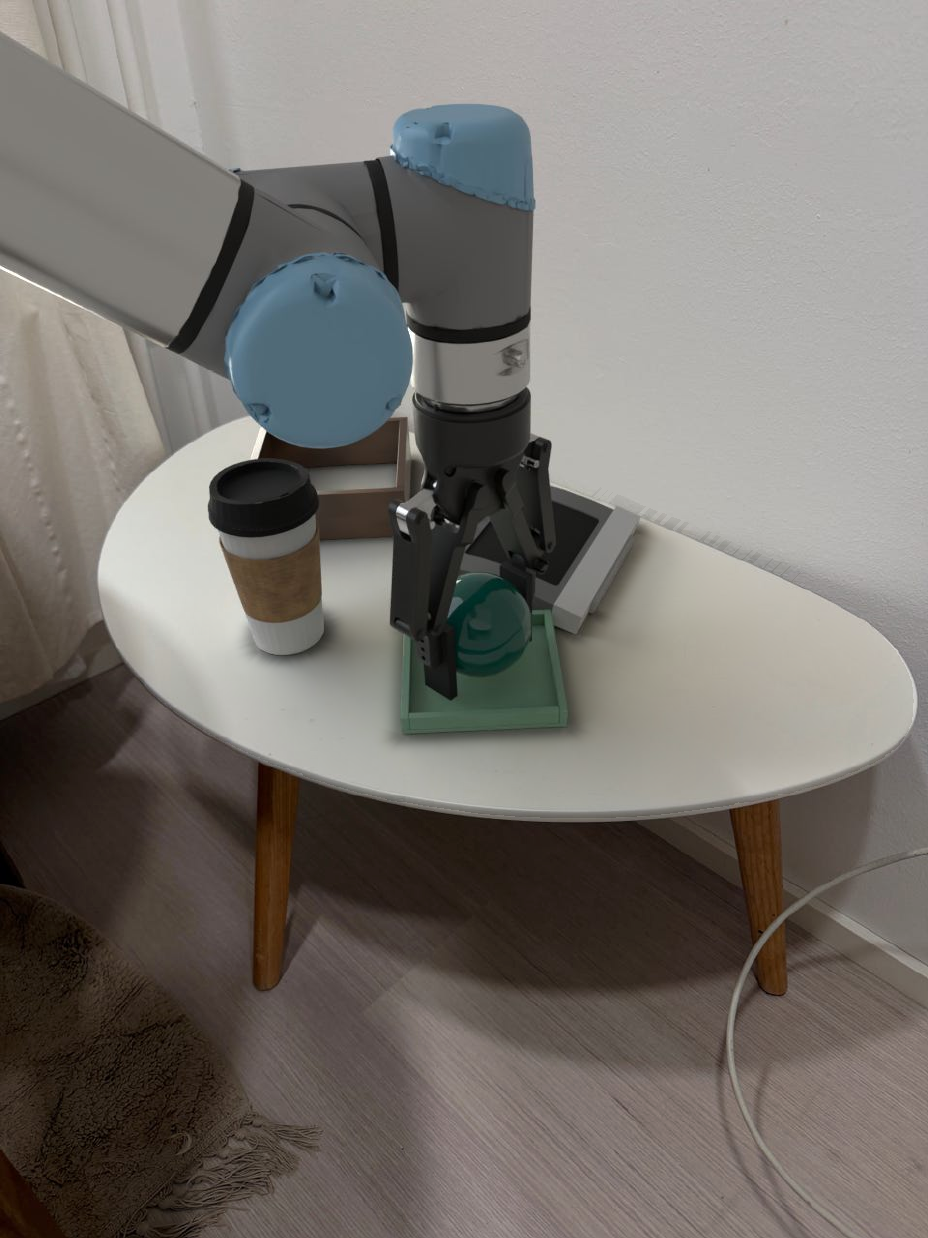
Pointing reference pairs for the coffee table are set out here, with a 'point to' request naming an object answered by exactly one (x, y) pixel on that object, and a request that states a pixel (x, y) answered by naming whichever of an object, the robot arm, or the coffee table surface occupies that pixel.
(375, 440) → the box
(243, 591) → the coffee cup
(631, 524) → the alarm clock
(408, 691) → the tray
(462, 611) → the sphere
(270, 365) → the robot arm
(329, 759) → the coffee table surface
